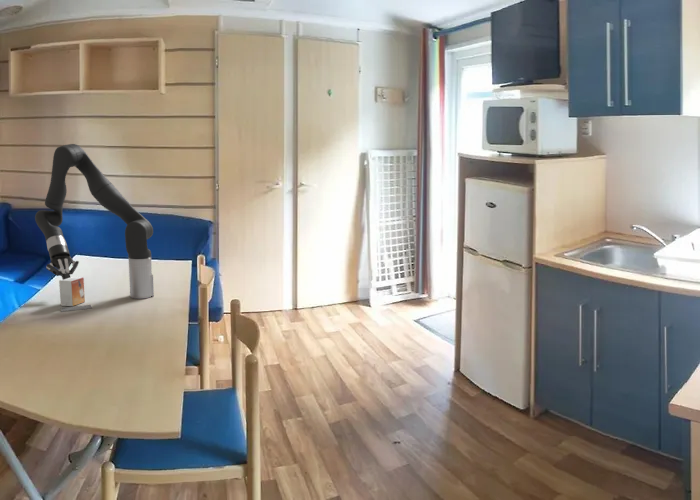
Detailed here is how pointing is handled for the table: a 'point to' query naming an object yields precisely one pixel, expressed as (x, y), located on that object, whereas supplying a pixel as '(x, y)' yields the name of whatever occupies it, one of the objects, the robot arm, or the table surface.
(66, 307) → the charcoal mat
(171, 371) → the table surface
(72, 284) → the small box
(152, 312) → the table surface
